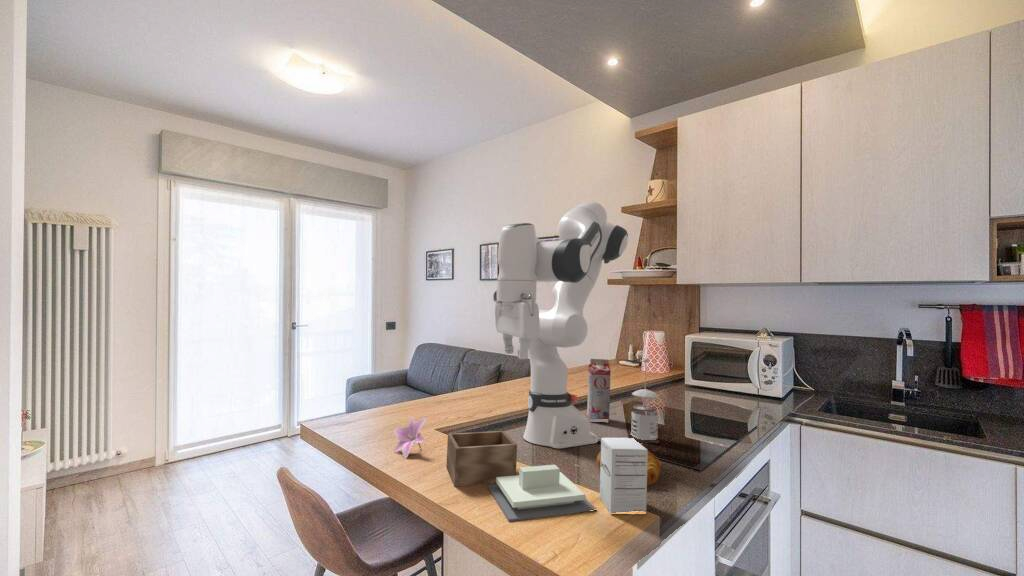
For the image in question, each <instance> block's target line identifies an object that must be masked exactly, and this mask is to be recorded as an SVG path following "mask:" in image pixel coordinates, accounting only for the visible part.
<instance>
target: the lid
mask: <svg viewBox="0 0 1024 576" xmlns="http://www.w3.org/2000/svg"><path fill="white" fill-rule="evenodd" d="M518 469H519V470H518V472H519V473H518V475H517V474H516V475H515V476H504V477H496V485H498V486H499V487H500V489H501V490H502V492H503V493H504V495H505V496H506V498H507V499H508V501H509V502H510V504H511V505H512V507H513V508H516V507H517V508H518V510H519V509H527V508H536V507H545V506H554V505H563V504H571V503H574V501H579V500H585V498H586V494H585V493H584V492H583V491H582V490H581V489H580V488H579V487H578V486H577V485H576V484H575V483H574V482H573V481H571V480H570V479H569V478H568V477H567V476H566V475H565V474H564V473H563V472H561V471H560V470H561V469H560V468H559V466H557V465H556V464H546V465H545V464H543V465H534V466H523V467H522V466H521V467H519V468H518Z"/></svg>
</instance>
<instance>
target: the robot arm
mask: <svg viewBox="0 0 1024 576" xmlns="http://www.w3.org/2000/svg"><path fill="white" fill-rule="evenodd" d="M607 219H608V215H607V211H606V209H605V208H604V206H603V205H602V204H600V203H598V202H597V201H596V202H595V201H588V202H584V203H581V204H580V203H579V204H578V205H576V206H574V207H573V208H571V209H570V210H568V211H567V212H566V213H565V214H564V215H563V216H562V217H561V218H560V220H559V222H558V224H557V234H558V237H559V240H551V241H550V240H549V241H548V240H547V241H542V240H541V239H539V238H538V237H537V233H536V227H535V225H534V224H532V223H530V222H521V223H514V224H506V225H505V226H503V227H502V228H501V231H500V234H499V239H498V249H497V264H498V267H499V270H498V271H499V273H498V276H497V279H496V280H497V283H496V289H495V291H494V292H493V294H492V301H493V302H495V305H494V318H495V319H494V320H495V329H496V332H497V333H500V334H502V340H503V345H504V349H503V350H504V353H505V354H508V355H510V354H512V355H513V354H514V350H515V349H514V345H513V339H514V337H515V338H518V343H519V347H518V348H519V349H517V358H518V359H519V360H527V359H528V358H529V365H530V385H529V387H530V389H529V390H528V397H527V399H528V400H527V406H528V415H527V420H526V426H525V429H524V433H523V436H522V438H523V439H524V440H525V441H527V442H528V443H531V444H535V445H539V446H544V447H545V446H546V447H550V448H554V449H566V448H572V447H573V448H574V447H579V446H586V445H591V444H597V442H598V443H599V438H598V436H597V435H596V434H595V433H593V432H592V431H591V424H590V421H589V420H588V418H587V416H586V415H585V414H583V413H582V412H581V411H580V410H579V409H578V408H576V407H575V406H574V405H573V404H572V402H573V403H577V402H578V401H579V397H578V396H577V395H575V394H571V393H570V392H567V391H568V390H567V389H568V387H567V386H568V368H567V365H566V363H565V361H564V360H562V357H560V354H559V352H558V348H564V349H565V348H573V347H578V346H580V345H582V344H583V343H584V342H585V340H586V338H587V336H588V324H587V321H586V319H585V317H584V313H583V312H584V311H583V310H584V306H585V304H586V302H587V301H588V298H589V296H590V294H591V292H592V290H593V288H594V287H595V284H596V283H597V280H598V278H599V275H600V271H601V269H602V265H603V264H602V263H604V264H605V265H606V264H609V263H610V262H612V261H615V260H617V259H618V258H619V257H621V255H623V253H624V252H625V251H626V249H627V247H628V241H629V234H628V230H626V229H625V228H624V227H622V226H620V225H618V224H617V225H615V224H613V223H611V222H608V220H607ZM538 282H539V283H540V282H541V283H543V282H544V283H545V282H546V283H547V282H548V283H550V282H553V283H555V282H556V283H555V285H554V286H553V288H552V297H553V298H554V300H555V302H554V305H553V307H552V308H551V309H539V305H538V303H537V283H538Z"/></svg>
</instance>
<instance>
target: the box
mask: <svg viewBox="0 0 1024 576" xmlns="http://www.w3.org/2000/svg"><path fill="white" fill-rule="evenodd" d="M446 445H447V447H446V448H447V449H446V466H445V468H446V471H447V472H448V476H449V478H450V479H451V483H452V485H453V487H461V486H472V485H473V486H474V485H484V484H495V483H496V477H504V476H515V475H517V461H518V460H517V458H518V455H517V454H518V444H517V443H516V442H515V441H514V440H513V439H512V438H511V437H510V436H509V435H508V434H507V433H506V432H505V431H504V430H496V431H495V430H493V431H477V432H473V431H471V432H459V433H458V432H457V433H447V444H446ZM496 484H497V483H496Z"/></svg>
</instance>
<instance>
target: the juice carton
mask: <svg viewBox="0 0 1024 576" xmlns="http://www.w3.org/2000/svg"><path fill="white" fill-rule="evenodd" d="M589 361H590V362H589V365H588V371H587V372H588V375H587V377H588V378H587V404H586V405H587V410H586V411H587V412H586V416H587V415H588V416H589V418H590V419H609V420H610V411H611V410H610V406H611V405H610V404H611V403H610V402H611V401H610V400H611V396H610V395H611V367H610V362H609V361H610V359H605V358H604V359H603V358H590V360H589Z"/></svg>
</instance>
